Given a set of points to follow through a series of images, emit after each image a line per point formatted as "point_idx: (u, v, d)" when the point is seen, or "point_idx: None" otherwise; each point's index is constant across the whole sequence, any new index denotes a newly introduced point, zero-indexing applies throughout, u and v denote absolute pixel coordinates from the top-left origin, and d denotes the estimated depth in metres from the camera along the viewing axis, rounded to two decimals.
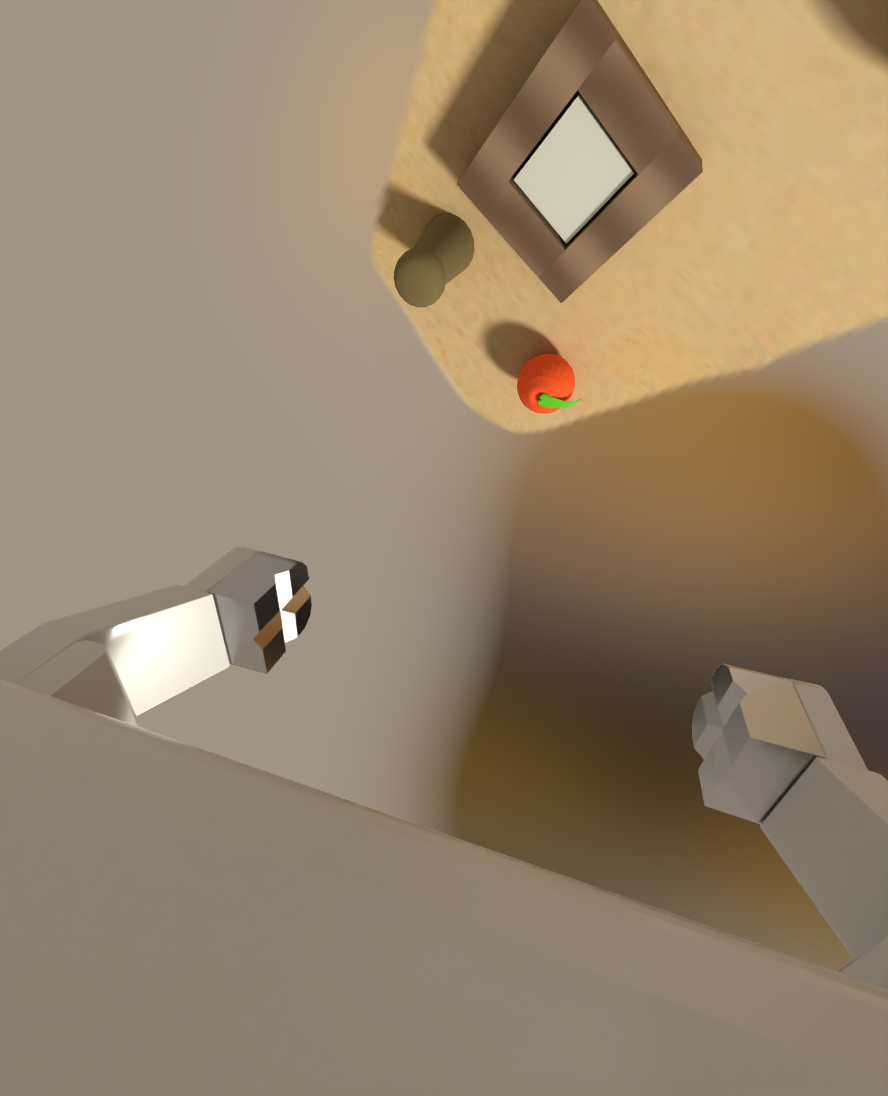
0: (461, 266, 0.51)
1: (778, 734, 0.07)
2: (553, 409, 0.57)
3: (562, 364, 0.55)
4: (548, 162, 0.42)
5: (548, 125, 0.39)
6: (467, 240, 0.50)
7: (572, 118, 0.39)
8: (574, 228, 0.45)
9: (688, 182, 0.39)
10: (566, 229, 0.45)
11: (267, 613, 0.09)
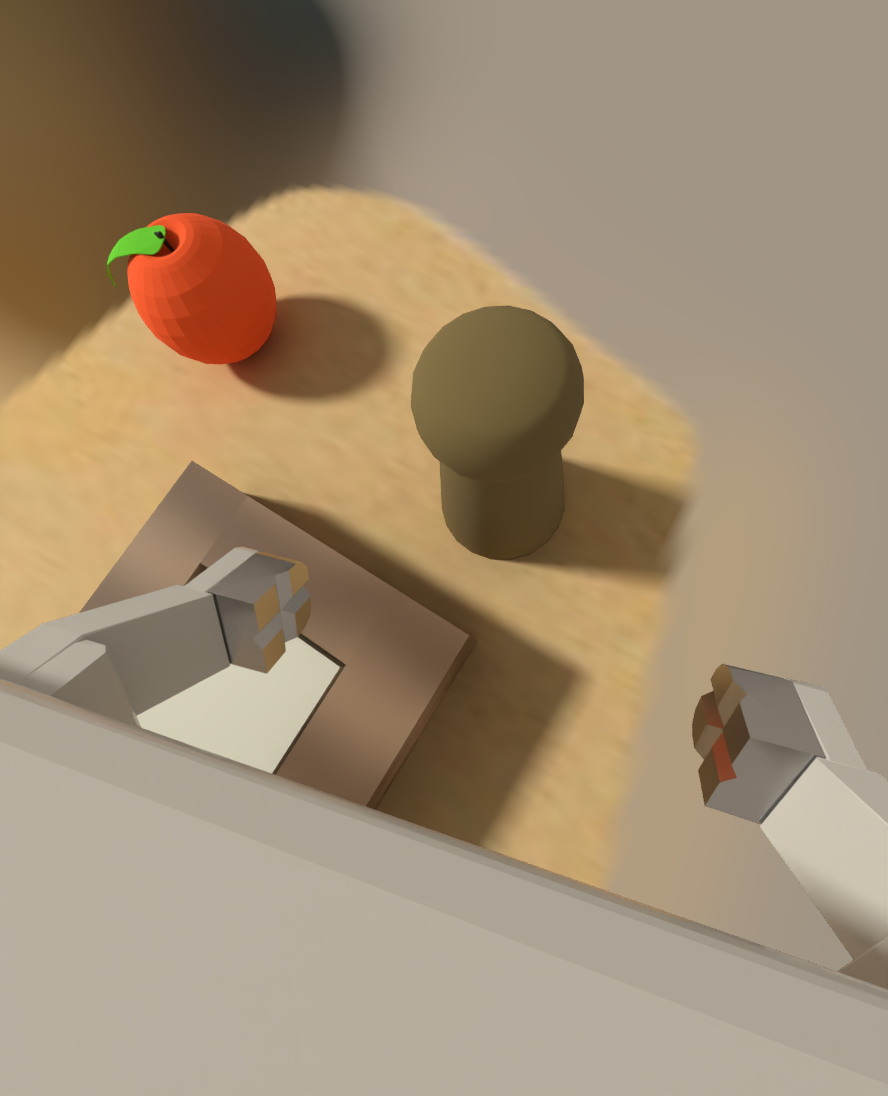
0: None
1: (778, 734, 0.07)
2: None
3: (173, 343, 0.24)
4: (269, 712, 0.19)
5: None
6: (450, 521, 0.22)
7: None
8: None
9: None
10: None
11: (267, 613, 0.09)
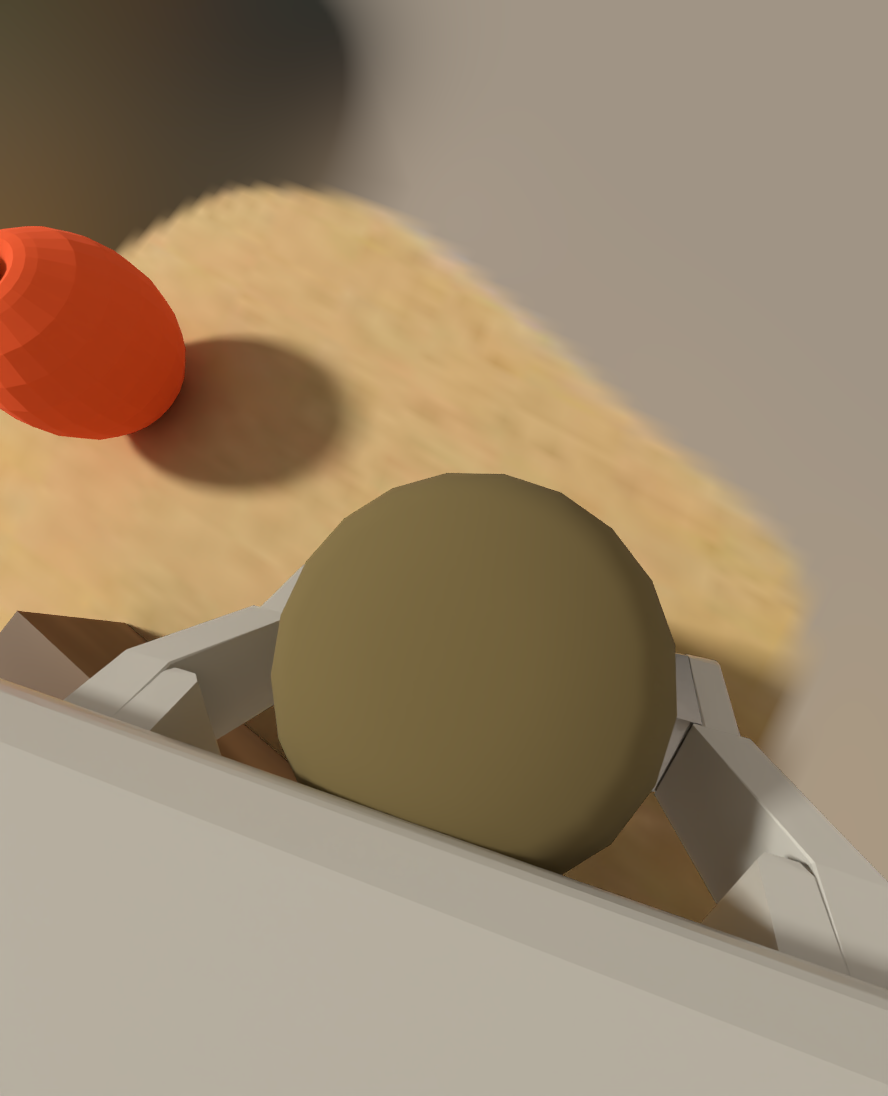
0: None
1: None
2: None
3: (18, 418, 0.16)
4: None
5: None
6: None
7: None
8: None
9: None
10: None
11: None
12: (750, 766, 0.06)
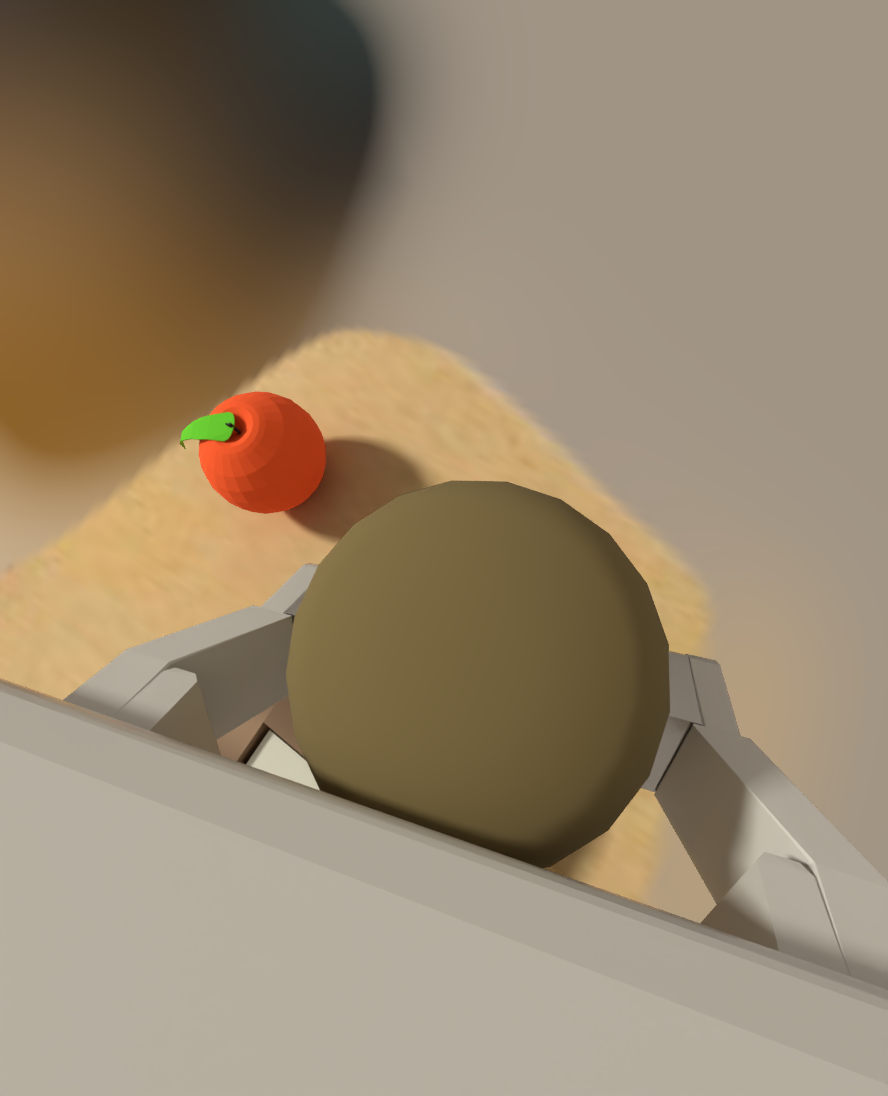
0: None
1: None
2: (212, 412, 0.26)
3: (236, 504, 0.27)
4: None
5: None
6: None
7: None
8: (259, 758, 0.23)
9: None
10: (274, 754, 0.23)
11: None
12: (750, 766, 0.06)
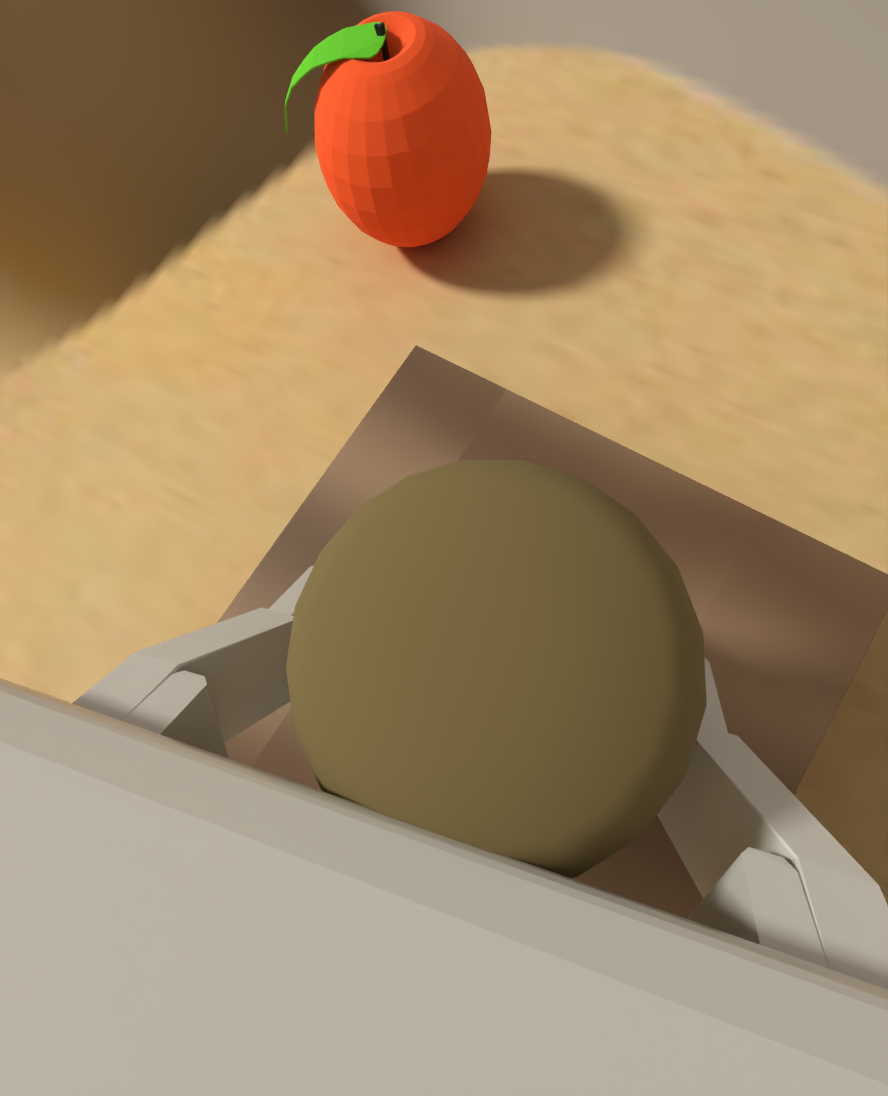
0: None
1: None
2: None
3: (367, 203, 0.18)
4: None
5: None
6: None
7: None
8: None
9: None
10: None
11: None
12: (737, 762, 0.06)
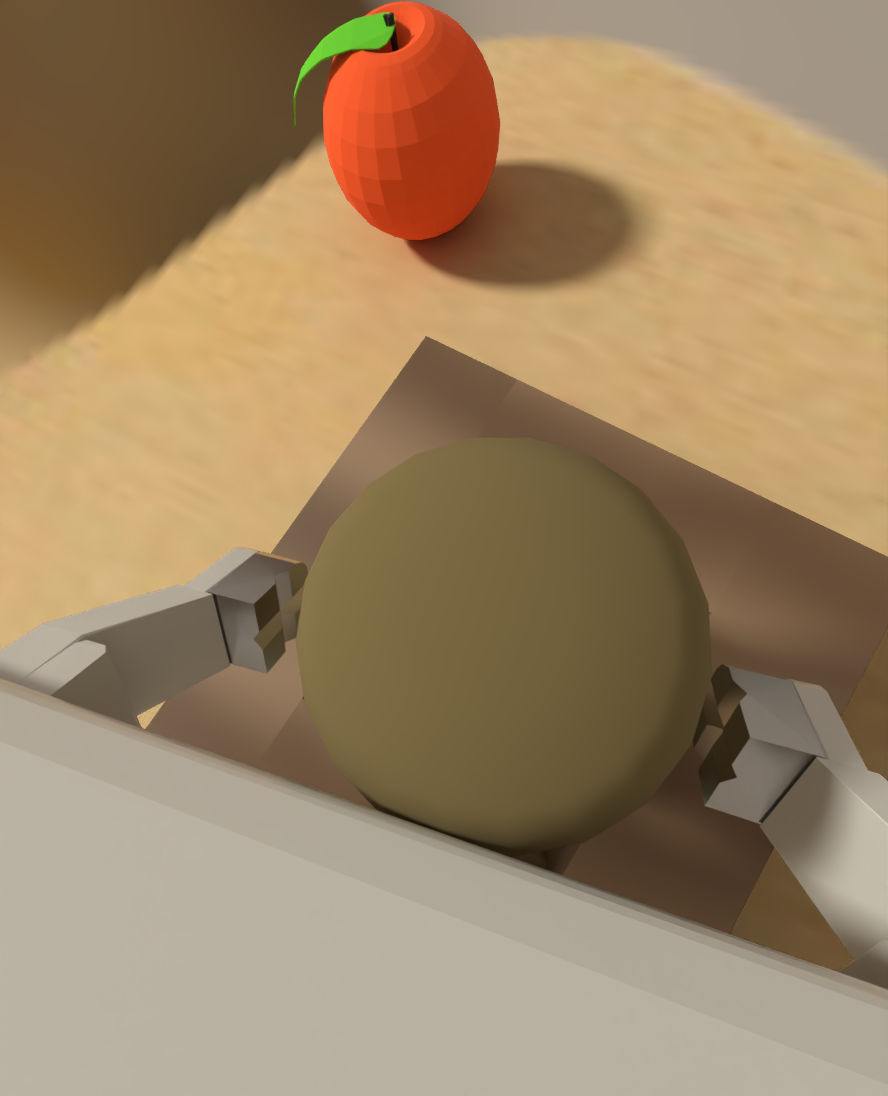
0: None
1: (778, 734, 0.07)
2: None
3: (377, 195, 0.18)
4: None
5: None
6: None
7: None
8: None
9: (170, 701, 0.14)
10: None
11: (267, 613, 0.09)
12: None
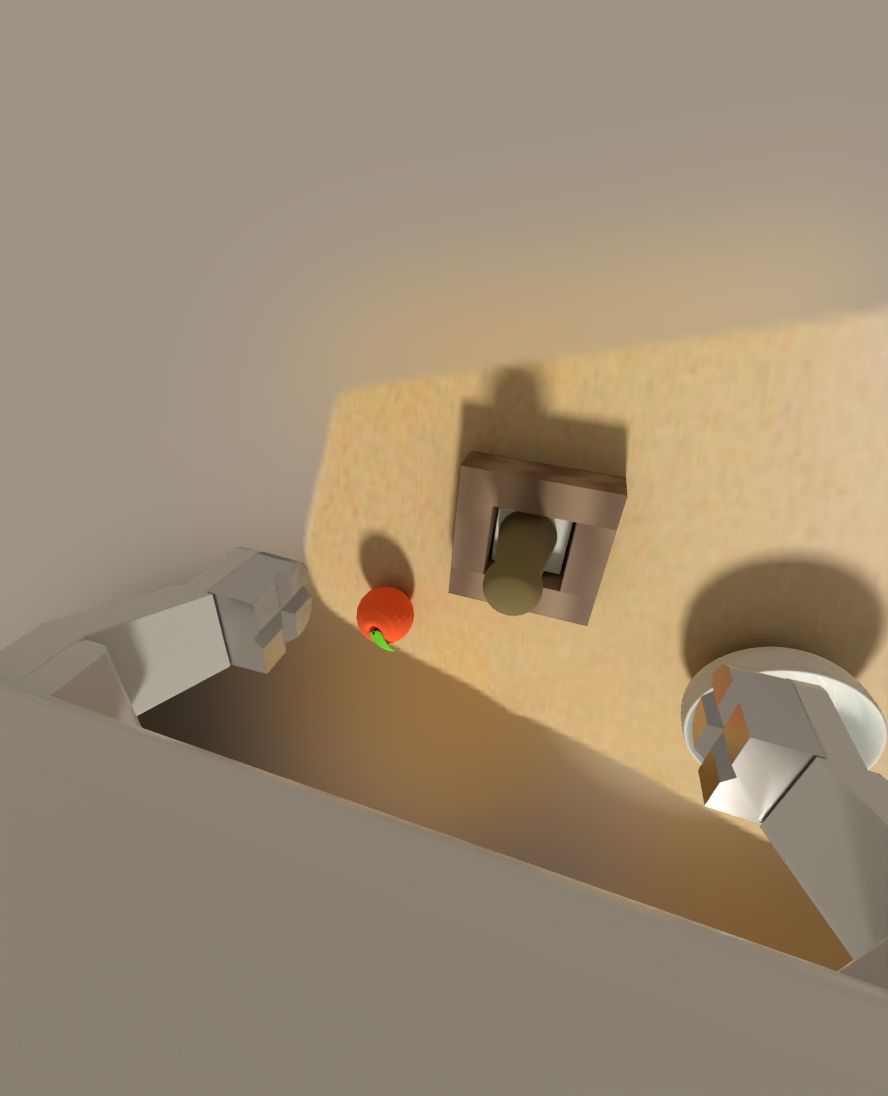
0: None
1: (778, 734, 0.07)
2: None
3: (410, 618, 0.56)
4: None
5: (545, 515, 0.44)
6: None
7: None
8: None
9: (576, 622, 0.49)
10: None
11: (267, 613, 0.09)
12: None
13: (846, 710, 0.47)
